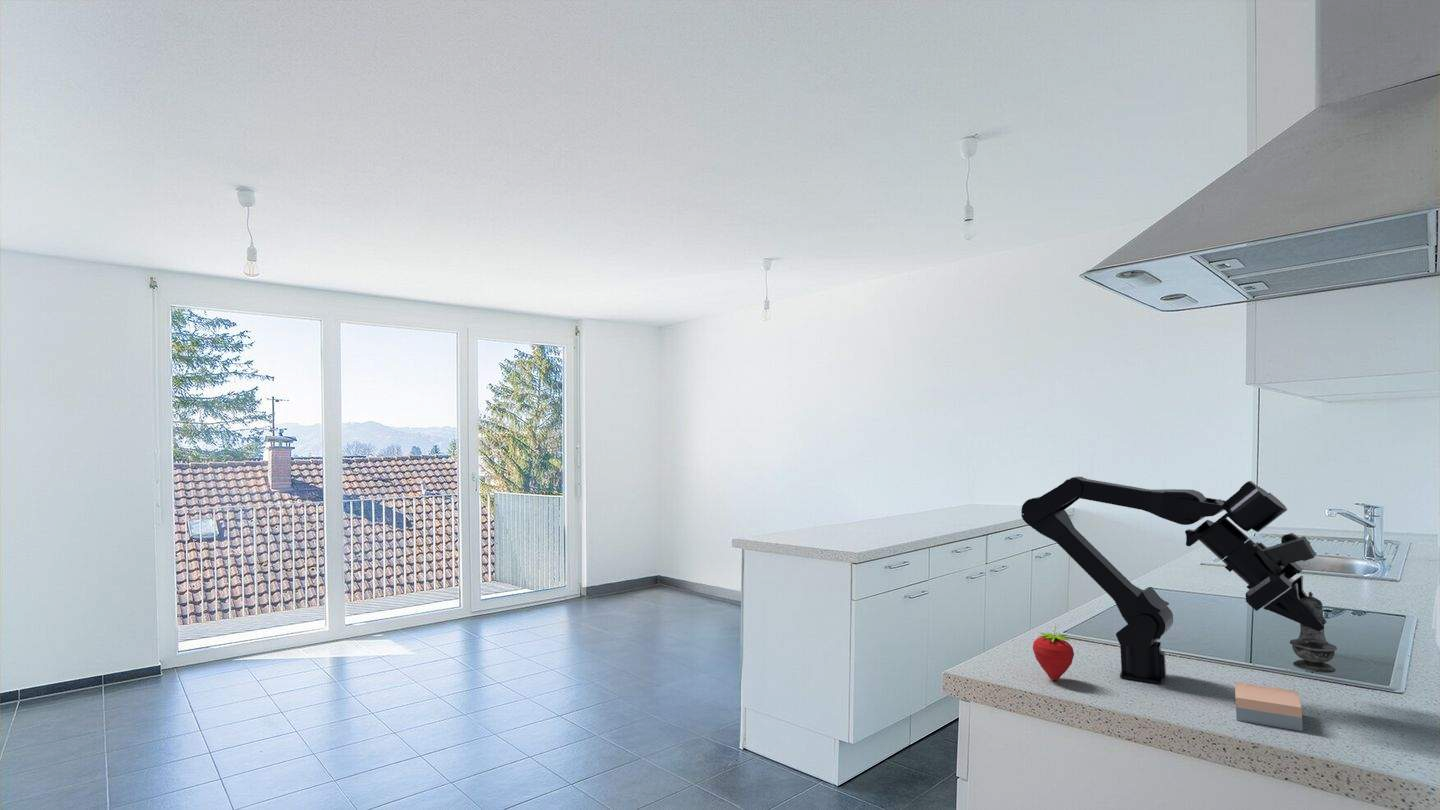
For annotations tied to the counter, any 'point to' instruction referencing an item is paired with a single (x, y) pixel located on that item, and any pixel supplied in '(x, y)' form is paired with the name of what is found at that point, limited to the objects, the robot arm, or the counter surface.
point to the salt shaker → (1313, 642)
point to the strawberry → (1053, 654)
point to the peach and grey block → (1268, 706)
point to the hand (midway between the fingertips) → (1323, 627)
